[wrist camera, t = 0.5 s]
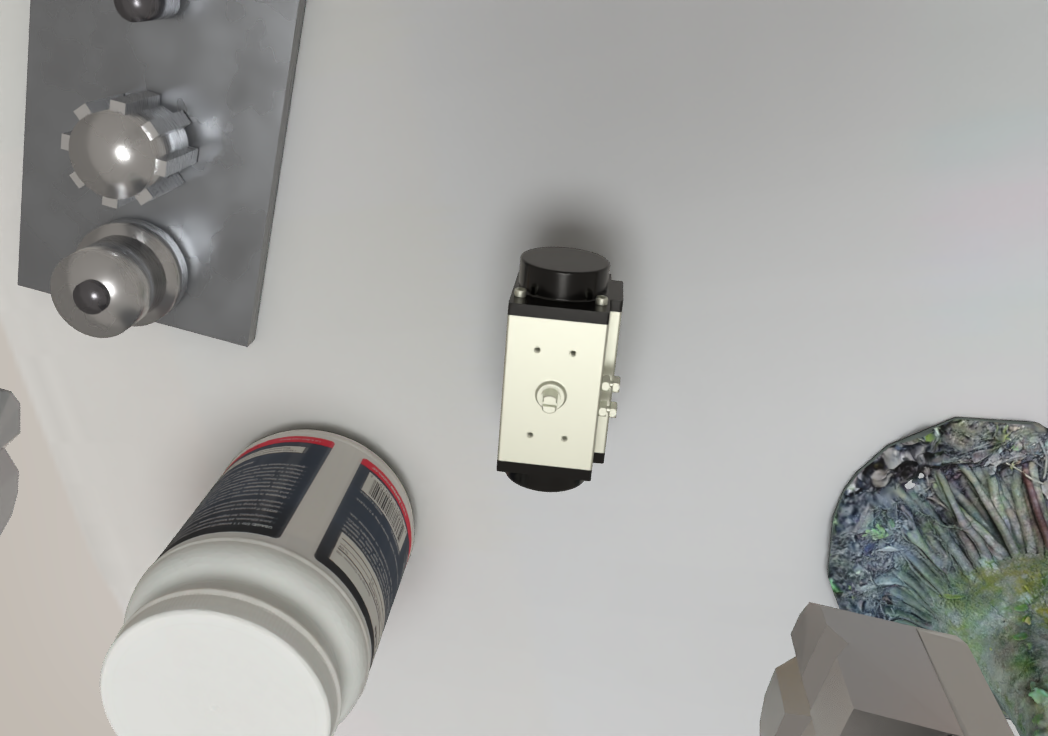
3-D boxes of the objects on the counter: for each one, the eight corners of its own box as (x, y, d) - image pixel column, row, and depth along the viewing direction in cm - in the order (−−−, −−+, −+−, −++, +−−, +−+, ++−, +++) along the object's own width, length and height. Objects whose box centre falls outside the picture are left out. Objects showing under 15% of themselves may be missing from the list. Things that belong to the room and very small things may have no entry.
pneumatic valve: (515, 406, 58) (492, 507, 47) (530, 216, 54) (508, 279, 43) (607, 415, 58) (604, 520, 47) (629, 225, 54) (632, 292, 43)
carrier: (47, -96, 50) (-33, -106, 44) (309, -24, 50) (266, -24, 44) (29, 278, 58) (-41, 315, 52) (254, 339, 58) (211, 383, 52)
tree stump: (1070, 348, 55) (1312, 578, 40) (1136, 561, 65) (1348, 809, 50) (773, 489, 59) (890, 747, 44) (878, 669, 69) (1003, 929, 54)
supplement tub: (203, 549, 65) (56, 755, 48) (255, 389, 60) (110, 554, 43) (383, 619, 65) (301, 845, 49) (448, 466, 61) (382, 659, 44)
